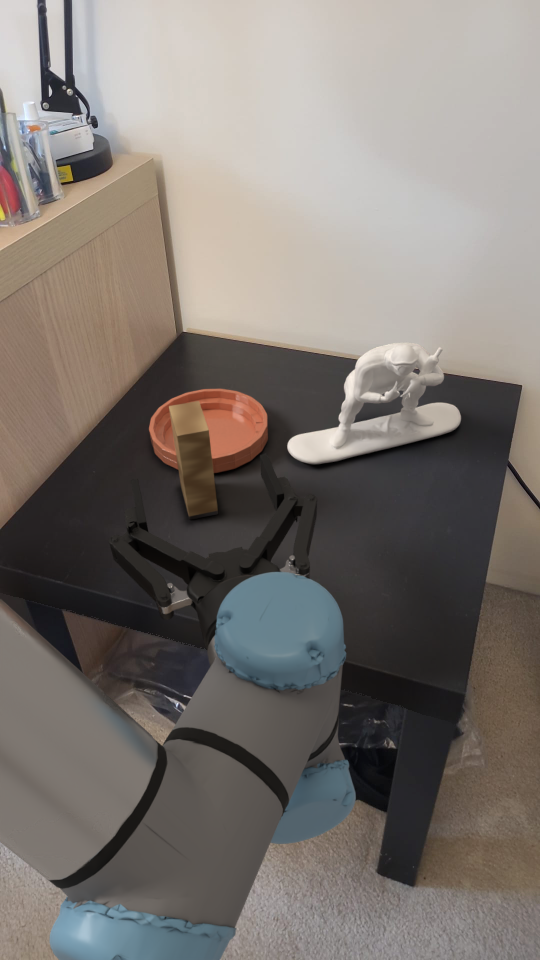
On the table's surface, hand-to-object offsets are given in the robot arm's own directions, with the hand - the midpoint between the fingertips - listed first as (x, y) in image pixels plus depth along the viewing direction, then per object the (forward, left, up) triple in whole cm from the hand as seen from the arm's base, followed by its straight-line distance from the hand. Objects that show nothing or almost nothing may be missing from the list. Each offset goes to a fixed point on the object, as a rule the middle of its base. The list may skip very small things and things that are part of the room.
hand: (201, 476), depth 72 cm
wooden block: (-2, +9, -12) cm, 15 cm away
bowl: (-1, +22, -12) cm, 25 cm away
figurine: (+22, +21, -12) cm, 33 cm away
